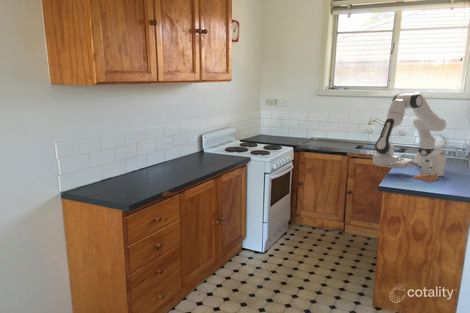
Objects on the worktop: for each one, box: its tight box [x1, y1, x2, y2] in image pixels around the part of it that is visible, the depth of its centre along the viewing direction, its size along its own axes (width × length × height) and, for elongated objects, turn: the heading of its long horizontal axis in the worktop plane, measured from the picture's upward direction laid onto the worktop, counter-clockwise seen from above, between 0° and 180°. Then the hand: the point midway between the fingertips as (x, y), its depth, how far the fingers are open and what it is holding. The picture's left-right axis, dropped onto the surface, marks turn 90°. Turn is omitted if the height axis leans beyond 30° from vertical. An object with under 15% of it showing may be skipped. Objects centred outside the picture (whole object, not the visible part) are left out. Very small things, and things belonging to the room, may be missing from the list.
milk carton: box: [430, 147, 447, 177], centre depth 272 cm, size 7×7×19 cm
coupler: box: [413, 172, 439, 182], centre depth 263 cm, size 14×12×4 cm
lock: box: [420, 159, 432, 178], centre depth 261 cm, size 5×6×12 cm
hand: (416, 165), depth 265 cm, fingers open, 8 cm apart
